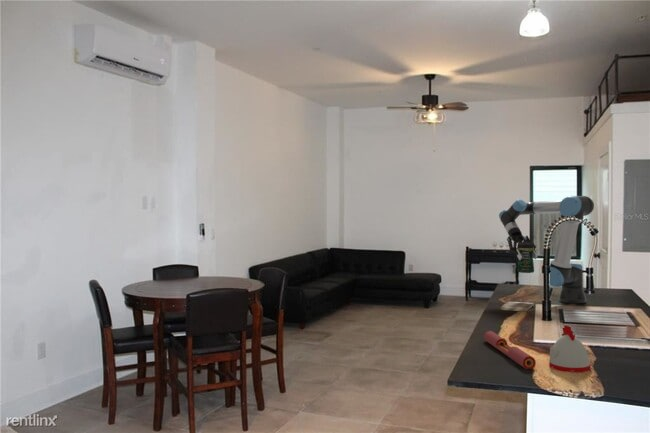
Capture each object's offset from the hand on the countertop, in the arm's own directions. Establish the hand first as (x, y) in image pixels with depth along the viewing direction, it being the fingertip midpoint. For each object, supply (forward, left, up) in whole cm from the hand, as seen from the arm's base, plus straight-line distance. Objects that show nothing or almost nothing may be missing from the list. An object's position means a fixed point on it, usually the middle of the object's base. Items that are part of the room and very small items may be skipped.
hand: (528, 258), depth 338 cm
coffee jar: (+2, -2, -9) cm, 10 cm away
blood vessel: (-16, +121, -27) cm, 125 cm away
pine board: (+3, +18, -27) cm, 33 cm away
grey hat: (-40, +128, -27) cm, 137 cm away
